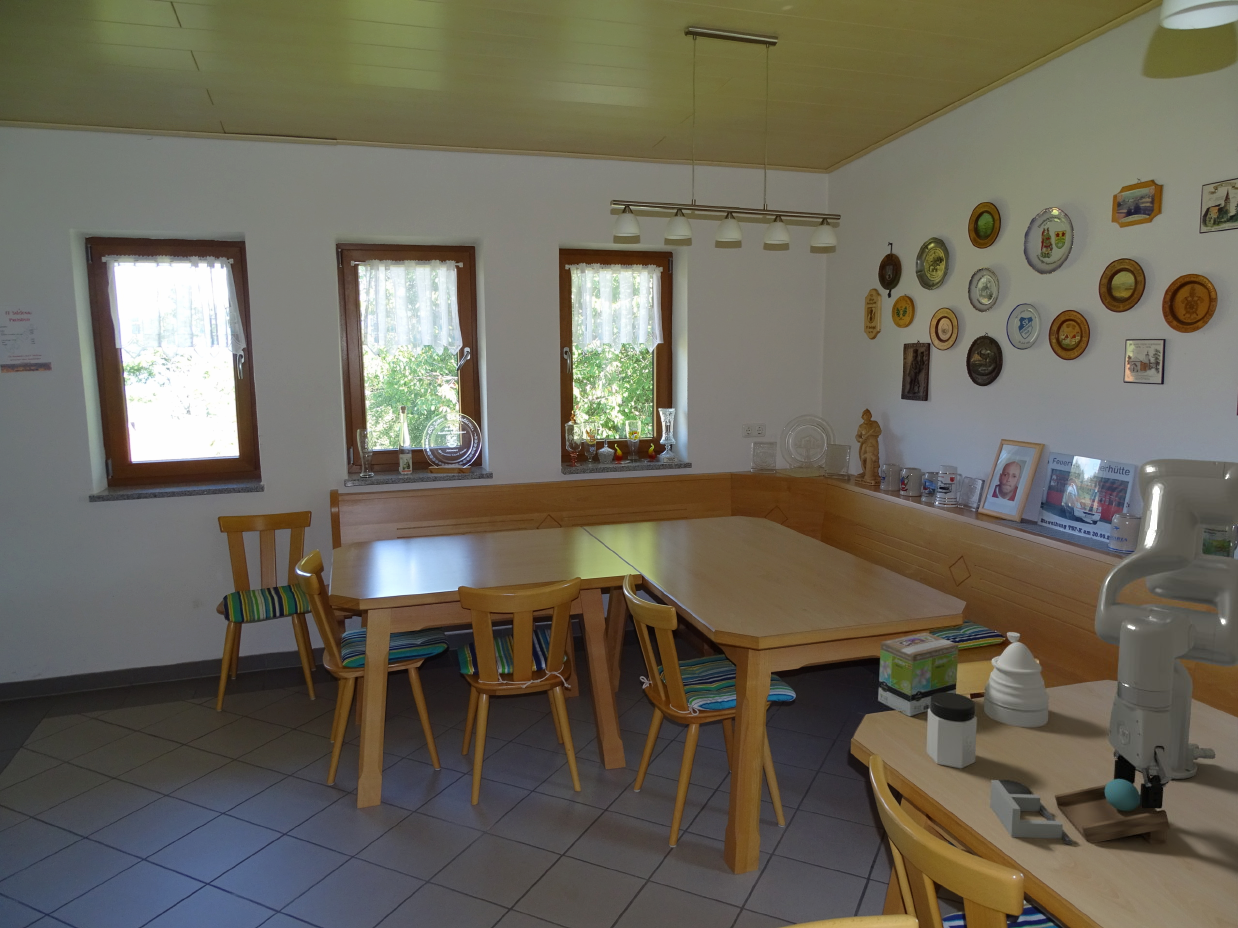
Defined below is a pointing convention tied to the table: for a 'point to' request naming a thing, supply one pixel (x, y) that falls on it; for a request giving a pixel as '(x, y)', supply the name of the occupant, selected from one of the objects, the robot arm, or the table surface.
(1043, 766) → the table surface
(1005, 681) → the honey pot
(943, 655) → the tea box
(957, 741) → the jar
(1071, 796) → the ramp
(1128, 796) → the ball
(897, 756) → the table surface
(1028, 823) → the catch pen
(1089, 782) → the table surface
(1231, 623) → the robot arm
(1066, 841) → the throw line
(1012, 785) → the dark grey disc
